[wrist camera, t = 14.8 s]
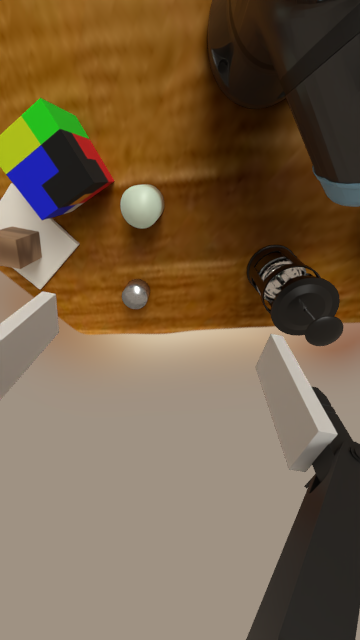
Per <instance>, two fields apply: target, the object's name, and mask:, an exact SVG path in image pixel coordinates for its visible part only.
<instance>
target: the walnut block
mask: <svg viewBox="0 0 360 640" xmlns="http://www.w3.org/2000/svg"><path fill="white" fill-rule="evenodd" d="M40 258H42V253H41V244H40V235H39V232H38V231H33V230H28V229H23V228H18V227H8V228H4V229H1V230H0V265H1V266H6V267H12V268H17V269H22V268H23V267H25V266H27V265H29V264H31V263H33V262H35V261H37V260H38V259H40Z"/></svg>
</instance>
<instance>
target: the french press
mask: <svg viewBox="0 0 360 640" xmlns="http://www.w3.org/2000/svg"><path fill="white" fill-rule="evenodd" d="M273 252H278V253H281V254H282V255H283V256H284V257H279V258H276V259H273V260H272V261H270V262H268V263H267V264H266V265H265V266H264V267H263V268H262V269H261V270H260V272H259V273H258V271H257V270H256V269H255V266H256V265H257V263H258V262H259V261H260V260H261V259H262V258H263V257H264V256H266V255H268V254H270V253H273ZM305 268H308V269H310V270H312V271H313V272H314V273H315V275H316V277H314V276H312V275H311V274H308V273H306V270H305ZM247 277H248V280H249V281H250V283H251V284H252V286H253V287H254V288H255V289H256V290H257V291H258V292H259V294H260V295H261V300H262V303H263V305H264V306H265V303H264V299H265V300H267V301H268V302H269V304H270V306H271V310H270V309H268V308H267V307H266V306H265V308H266V310H267V311H268V312H269V313H270V314H271V318H272V321H273V323H274V325H275V326H276V327H277V328H278V329H279V330H280V331H282V332H284V333H286V334H290V335H305V337H306V340H307V341H308V342H309V343H310V344H312V345H315V346H325V345H328V344H331V343H332V342H334V341H336V340H337V339H338V338H339V337H340V335H341V334H342V331H343V324H342V322H341V320H340V319H338V318H337V317H334V316H335V314H336V312H337V310H338V307H339V294H338V291H337V289H336V288H335V287H334V285H332V284H331V283H330V282H329V281H327V280H325V279H322V278H321V277H320V276H319V274H318V273H317V272H316V271H314V270H313V269H312V268H311V267H309V266H307V265H305V264H304V263H302V262H301V261H300V260H299V259H298V258H297V257H296V256H295V255H294V254H293V253H292V251H291V250H289V249H288V248H286V247H284V246H281V245H269V246H266V247H264V248H262V249H260V250H259V251H257V252H256V253H255V254H254V255H253V256H252V258H251V259H250V261H249V264H248V267H247Z"/></svg>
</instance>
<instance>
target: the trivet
mask: <svg viewBox="0 0 360 640" xmlns="http://www.w3.org/2000/svg"><path fill="white" fill-rule="evenodd" d="M8 227H18V228H23V229H28V230H33V231H38V232H39V235H40V244H41V253H42V258H40V259H38V260H37V261H35V262H33V263H31V264H29V265H27V266H25V267H23V268H22V269H17V268H13V269H15V270H16V271H17V272H18V273H20V274H21V275H22V276H24V277H25V278H26V279H27V280H29V281H30V282H31V283H32V284H34V285H35V286H36V287H37V288H39V289H42V288H43V287H44V285H45V284H46V283H47V282H48V281H49V280H50V278H51V277H52V276H53V275H54V274H55V273H56V271H57V270H58V269H59V268H60V267H61V266H62V264H63V263H64V262H65V261H66V260H67V259H68V257H69V256H70V255H71V254H72V253H73V252H74V250H75V249H76V248H77V247H78V246H79V245H80V244H79V243H78V242H77V241H76V240H75V239H74V238H73V237H72V236H70V235H69V234H68V233H67V232H66V231H65V230H64V229H63V228H62V227H61V226H60V225H59V224H58V223H57V222H55V221H54V220H53V219H52V218H49V219H45V220H41V219H40V217H39V216H38V215H37V213H36V212H35V211H34V210H33V208H32V207H31V206H30V204H29V203H28V202H27V201H26V199H25V198H24V197H23V195H22V194H21V193H20V192H19V190H18V189H17V188H16V186H15V185H14V184H13V183H11V185H10V186H9V188H8V189H7V191H6V193H5V194H4V196H3V198H2V199H1V201H0V230H1V229H4V228H8Z"/></svg>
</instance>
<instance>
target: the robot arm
mask: <svg viewBox="0 0 360 640" xmlns="http://www.w3.org/2000/svg"><path fill="white" fill-rule="evenodd" d="M207 40H208V55H209V61H210V65H211V69H212V72H213V75H214V77H215V79H216V82H217V83H218V85H219V87H220V88H221V90H222V91H223V93H224V94H225V95H226V96H227V97H228V98H229V99H230V100H232V101H233V102H235V103H236V104H238V105H240V106H243V107H246V108H251V109H260V108H266V107H269V106H272V105H274V104H277V103H278V102H280V101H282V100H283V99H285V98H286V99H287V102H288V104H289V107H290V109H291V112H292V114H293V117H294V119H295V122H296V124H297V127H298V129H299V132H300V134H301V137H302V139H303V142H304V144H305V146H306V149H307V151H308V154H309V156H310V159H311V161H312V164H313V166H312V168H313V173H314V175H315V176H316V177H317V179H318V180H319V181H320V183H321V185H322V187H323V189H324V191H325V193H326V195H327V197H329V198H330V199H331V200H332V201H333V202H335V203H337V204H340V205H344V206H353V207H359V206H360V0H212V4H211V9H210V15H209V24H208V38H207ZM58 333H59V327H58V315H57V304H56V294H53V293H48V292H41V293H40V294H39V295H37V296H36V297H35V298H33V299H32V300H31V301H29V302H28V303H27V304H25V305H24V306H23V307H22V308H20V309H19V310H18V311H16V312H15V313H14V314H12V315H11V316H10V317H8V318H7V319H6V320H4V321H3V322H2V323H1V324H0V400H1V399H2V398H3V396H4V395H5V394H6V393H7V392H8V391H9V389H10V388H11V387H12V386H13V385H14V384H15V382H17V380H18V379H19V378H20V377H21V376H22V375H23V373H24V372H25V371H26V370H27V369H28V368H29V366H30V365H31V364H32V363H33V362H34V361H35V359H36V358H37V357H38V356H39V355H40V354H41V353H42V351H43V350H44V349H45V348H46V347H47V346H48V344H49V343H50V342H51V341H52V340H53V339H54V338H55V336H56V335H57V334H58ZM256 370H257V373H258V376H259V379H260V382H261V385H262V388H263V392H264V395H265V398H266V401H267V404H268V407H269V410H270V413H271V416H272V419H273V422H274V425H275V428H276V431H277V434H278V437H279V440H280V444H281V447H282V449H283V453H284V456H285V459H286V462H287V465H288V468H289V470H296V471H302V472H306V471H307V470H308V468H309V467H310V466H311V465H313V467H314V470H315V472H316V474H315V475H314V476H313V477H312V479H311V480H310V481H309V482H308V483H307V484H306V485H305V487H306V488H308V489H307V492H306V494H305V497H304V499H303V502H302V504H301V507H300V509H299V512H298V514H297V517H296V519H295V521H294V524H293V526H292V529H291V531H290V534H289V536H288V538H287V541H286V543H285V546H284V548H283V551H282V553H281V556H280V558H279V560H278V563H277V565H276V568H275V570H274V573H273V575H272V578H271V580H270V583H269V585H268V588H267V590H266V592H265V595H264V597H263V600H262V602H261V605H260V607H259V610H258V612H257V615H256V617H255V620H254V622H253V624H252V627H251V629H250V632H249V634H248V637H247V639H246V640H355V637H356V630H357V623H358V616H359V609H360V444H358V443H356V442H353V440H352V439H351V437H350V435H349V433H348V432H347V430H346V429H345V427H344V425H343V424H342V422H341V421H340V419H339V417H338V415H337V414H336V412H335V410H334V409H333V407H331V404H330V402H329V400H328V399H327V397H326V396H325V395H324V394H323V393H322V392H321V391H320V390H319V389H318V388H316V387H311V386H310V384H309V382H308V380H307V378H306V377H305V375H304V373H303V371H302V370H301V368H300V366H299V364H298V363H297V361H296V359H295V357H294V355H293V353H292V352H291V350H290V348H289V346H288V345H287V343H286V341H285V339H284V338H283V336H279V335H274V334H270V337H269V339H268V341H267V343H266V345H265V347H264V350H263V352H262V354H261V356H260V359H259V361H258V363H257V365H256Z"/></svg>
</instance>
